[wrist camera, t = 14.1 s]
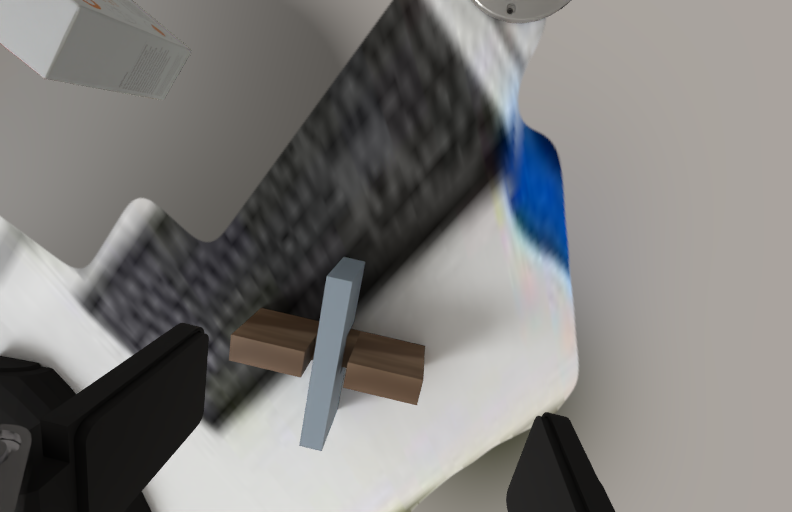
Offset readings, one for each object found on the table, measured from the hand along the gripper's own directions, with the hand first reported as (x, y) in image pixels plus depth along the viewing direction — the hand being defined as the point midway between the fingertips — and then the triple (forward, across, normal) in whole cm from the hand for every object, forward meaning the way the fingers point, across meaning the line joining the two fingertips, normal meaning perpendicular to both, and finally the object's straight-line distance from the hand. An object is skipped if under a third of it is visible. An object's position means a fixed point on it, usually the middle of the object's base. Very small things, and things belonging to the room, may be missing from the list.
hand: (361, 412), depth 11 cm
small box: (+32, +31, -10) cm, 46 cm away
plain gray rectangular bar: (+31, +6, +16) cm, 36 cm away
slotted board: (+31, +6, +17) cm, 36 cm away
